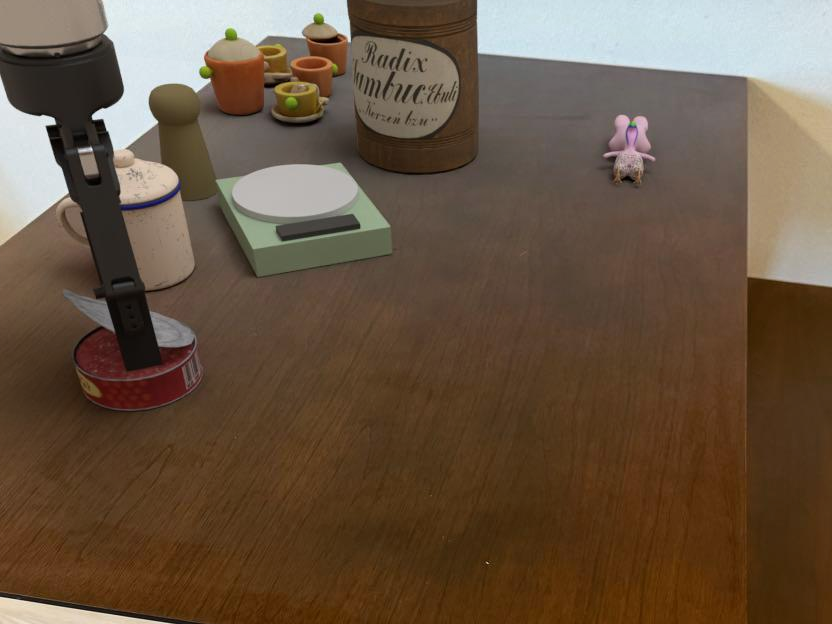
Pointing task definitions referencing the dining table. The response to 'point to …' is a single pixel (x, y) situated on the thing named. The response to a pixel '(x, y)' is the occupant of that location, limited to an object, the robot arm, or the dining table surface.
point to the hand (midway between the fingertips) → (130, 323)
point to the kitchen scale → (302, 218)
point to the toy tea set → (276, 73)
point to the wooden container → (415, 82)
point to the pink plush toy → (629, 147)
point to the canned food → (139, 387)
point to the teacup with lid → (147, 220)
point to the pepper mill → (183, 139)
